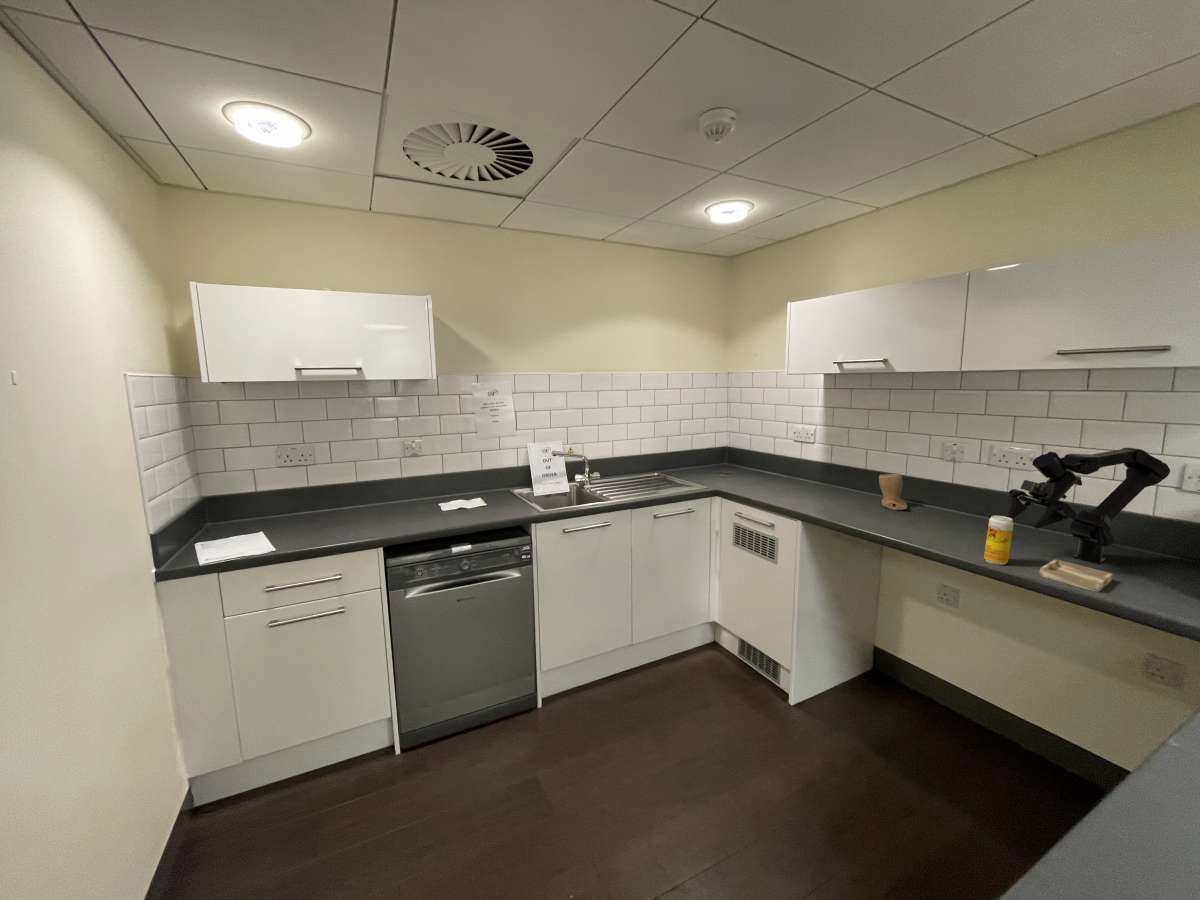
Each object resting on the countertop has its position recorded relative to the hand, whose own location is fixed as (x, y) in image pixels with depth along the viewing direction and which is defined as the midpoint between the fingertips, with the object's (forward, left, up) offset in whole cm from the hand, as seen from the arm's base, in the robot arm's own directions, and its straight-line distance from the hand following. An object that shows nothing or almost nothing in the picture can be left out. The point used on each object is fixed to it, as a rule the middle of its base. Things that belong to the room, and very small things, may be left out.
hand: (1021, 523), depth 156 cm
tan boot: (-32, -56, -13) cm, 65 cm away
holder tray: (+2, +15, -13) cm, 20 cm away
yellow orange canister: (+6, -3, -13) cm, 15 cm away
